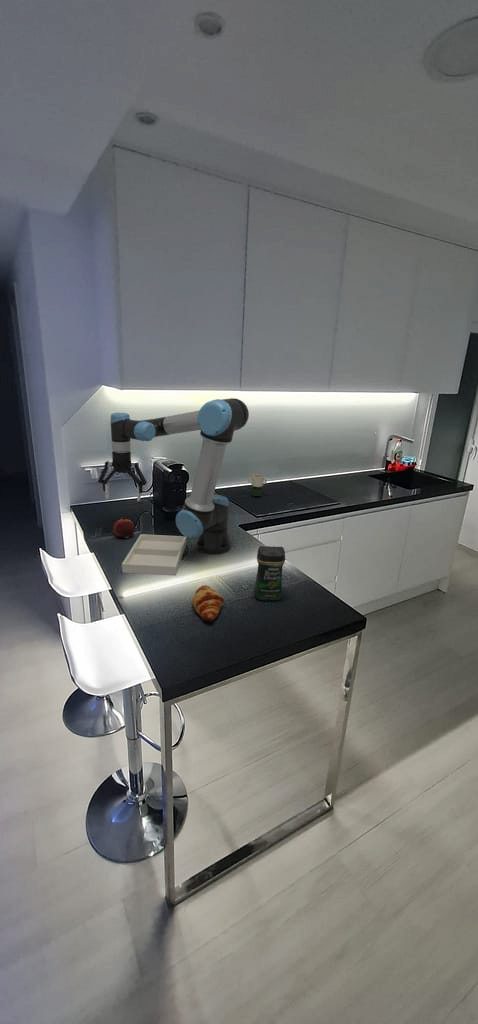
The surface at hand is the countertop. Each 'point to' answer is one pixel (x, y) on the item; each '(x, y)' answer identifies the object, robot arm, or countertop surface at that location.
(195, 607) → the croissant
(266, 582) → the coffee jar
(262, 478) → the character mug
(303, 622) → the countertop surface
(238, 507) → the countertop surface
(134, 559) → the fruit holder
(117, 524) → the fruit
